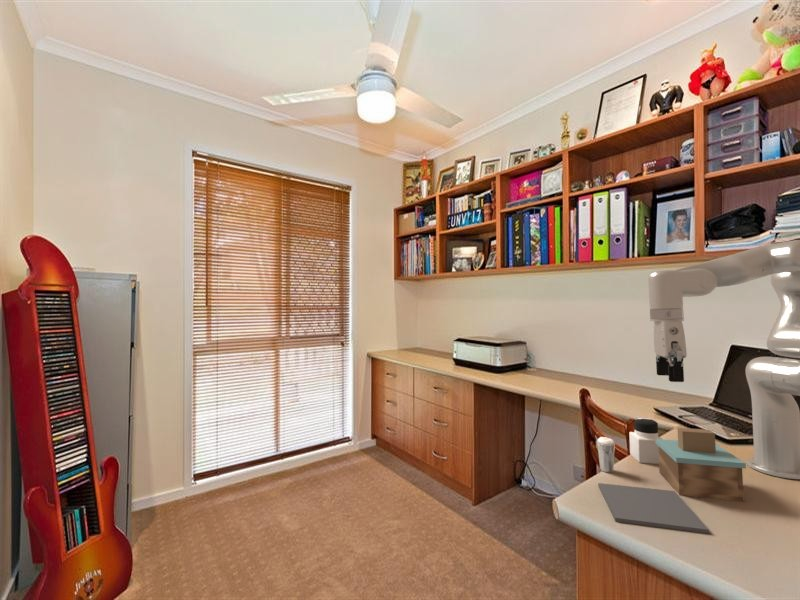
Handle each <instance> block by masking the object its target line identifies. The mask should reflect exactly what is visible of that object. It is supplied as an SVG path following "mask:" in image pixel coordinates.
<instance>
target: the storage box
mask: <svg viewBox="0 0 800 600" xmlns="http://www.w3.org/2000/svg"><path fill="white" fill-rule="evenodd" d="M658 447H659V446H658ZM658 466H659V467H658V468H659V469H658V470H659V474H660V475H661V476H662V478H664V480H666V482H667V483H669V485H670V486H671V487H672V488H673V489H674V491H675V492H676V493H677V494H678V496H688V497H697V498H707V499H716V500H723V501H724V500H725V501H735V502H742V503H743V502H745V498H744V480H743V468H734V467H723V466H711V465H699V464H687V463H676V462H675V461H674V460H673V459H672V458H671V457H670V456H669V455H668V454H667V453H666V452H665V451H664V450H662V449H661V448H660V447H659V464H658Z"/></svg>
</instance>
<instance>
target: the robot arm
mask: <svg viewBox="0 0 800 600" xmlns="http://www.w3.org/2000/svg"><path fill="white" fill-rule="evenodd" d="M767 276H770V283H771V286H772V288H773V289H774V291H775V293H776V295H777V297H778V299H779V302H780V310H779V312H778V315H777V317H776V319H775V322H774V324H773V325H772V328H771V329H770V331H769V334H768V337H767V340H766V347H767V349H768V350H769V351H770V352H771V353H773V354H775V355H777V356H780V357H776V356H759V357H754V358H752V359H750V360H749V361H748V362H747V364H746V366H745V371H744V372H745V377H746V382H747V385H748V388H749V391H750V397H751V409H752V410H751V414H752V415H751V416H752V436H753V437H752V438H753V452H754V453H753V454H754V455H753V457H749V458H748V459H747V463H746V464H747V465H748V466H749V467H750V468H751V469H753V470H755V471H758V472H760V473H763V474H765V475H770V476H773V477H778V478H781V479H782V478H783V479H789V480H800V408H799V405H798V403H797V401H796V400H795V398H794V396H798V397H800V239H794V240H789V241H783V242H782V241H781V242H777V243H770V244H765V245H760V246H757V247H753V248H750V249H746V250H743V251H740V252H736V253H734V254H730V255H726V256H721V257H718V258H715V259H714V258H713V259H710V260H708V261H704V262H701V263H697V264H692V265H688V266H685V267H680V268H679V269H667V270H657V271H652V272H651V273H649V275H648V277H647V278H648V281H647V282H648V299H649V320H650V321H649V322H653V349H654V353H655V355H656V356H655V363H656V364H655V365H656V375H657V376H668V381H669V382H670V383H684V382H685V376H684V375H685V373H684V372H685V371H684V362H683V361H684V359H686V358H687V356H688V353H687V345H686V335H685V330H684V324H683V322H684V321H685V318H684V317H685V316H684V315H685V314H684V313H685V312H684V300H683V299H684V297H686V298H687V297H689V298H691V297H694V298H695V297H702V296H703V297H704V296H706V295H708V294H711V293H712V292H714V291H715V290H716V289H717V288H721V287H722V288H723V287H730V286H736V285H740V284H745V283H748V282H750V281H754V280H757V279H760V278H764V277H767Z"/></svg>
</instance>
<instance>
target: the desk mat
mask: <svg viewBox="0 0 800 600" xmlns="http://www.w3.org/2000/svg"><path fill="white" fill-rule="evenodd" d="M597 486H598V488H599V491H600V492H601V495H602V497H603V498H604V501H605V503H606V505H607V507H608V509H609V511H610V513H611V515H612V517H613V519H614V522H618V523H624V524H630V525H631V524H633V525H639V526H640V525H641V526H647V527H655V528H661V529H662V528H663V529H670V530H677V531H687V532H695V533H702V534H708V535H709V534H710V529H709V528H708V527H707V526H706V525H705V523H704V522H703V521H702V520H701V519H700V518H699V517H698V516H697V515H696V513H695V512H694V511H693V510H692V509H691V508H690V507H689V506H688V504H687V503H686V501H684V500H683V499H682V497H680V495H679V494H678V493H677V492H676V491H675V490H669V489H658V488H650V487H641V486H640V487H639V486H631V485H630V486H629V485H619V484H611V483H602V482H601V483H600V482H598V483H597Z"/></svg>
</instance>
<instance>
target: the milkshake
mask: <svg viewBox="0 0 800 600" xmlns="http://www.w3.org/2000/svg"><path fill="white" fill-rule="evenodd" d="M594 436H595V438H596V439H595V440H596V444H597V451H598V452H597V453H598V460H599V461H598V462H599V469H600V471H601V472H604V473H608V474H609V473H614V471H615V470H614V469H615V468H614V465H615V451H616V450H615V448H616V447H615V446H616V443H615V441H614V439H612V438H609V437H607V436H600V437H598V436H597V435H594Z"/></svg>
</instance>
